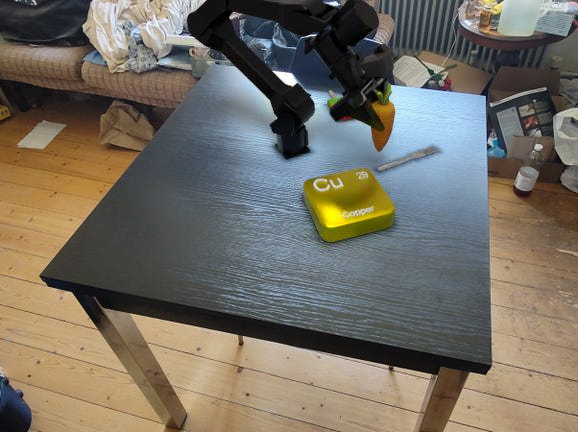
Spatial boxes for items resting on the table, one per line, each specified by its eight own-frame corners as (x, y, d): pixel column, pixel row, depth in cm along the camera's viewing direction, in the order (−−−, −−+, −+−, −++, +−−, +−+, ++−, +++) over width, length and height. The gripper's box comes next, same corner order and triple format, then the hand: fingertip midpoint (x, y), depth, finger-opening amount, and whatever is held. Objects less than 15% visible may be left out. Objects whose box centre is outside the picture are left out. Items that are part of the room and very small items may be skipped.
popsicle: (338, 121, 114) (338, 115, 113) (320, 95, 124) (320, 89, 123) (358, 118, 115) (358, 112, 114) (339, 92, 126) (339, 86, 125)
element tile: (323, 245, 82) (323, 227, 79) (301, 196, 93) (300, 178, 89) (396, 226, 86) (399, 208, 83) (367, 181, 96) (368, 163, 93)
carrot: (374, 160, 91) (380, 94, 81) (363, 148, 94) (367, 82, 84) (394, 155, 93) (403, 89, 82) (383, 142, 96) (390, 77, 86)
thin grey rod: (380, 172, 99) (380, 171, 98) (375, 168, 100) (375, 167, 100) (437, 151, 105) (438, 150, 105) (432, 147, 106) (433, 146, 106)
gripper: (346, 54, 72) (401, 129, 76) (388, 18, 85) (434, 85, 89) (306, 87, 80) (358, 154, 84) (350, 50, 92) (393, 110, 97)
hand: (388, 124), depth 88 cm, fingers closed on carrot, 5 cm apart
